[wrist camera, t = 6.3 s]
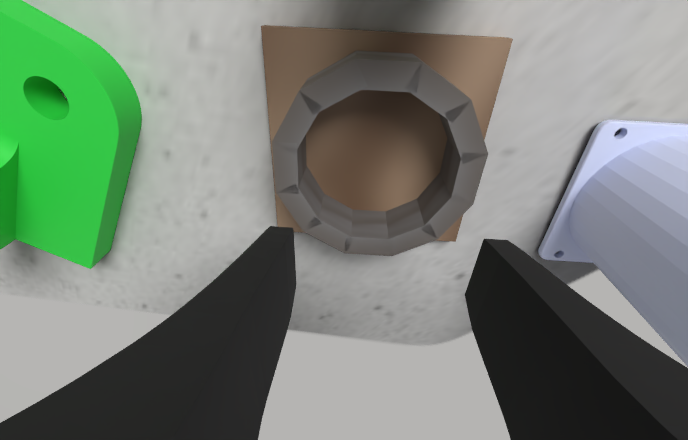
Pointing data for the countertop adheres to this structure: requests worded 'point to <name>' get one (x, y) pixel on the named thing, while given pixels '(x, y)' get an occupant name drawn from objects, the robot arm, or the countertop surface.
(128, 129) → the mechanical part
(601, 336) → the robot arm
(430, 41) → the collar holder
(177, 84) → the countertop surface
